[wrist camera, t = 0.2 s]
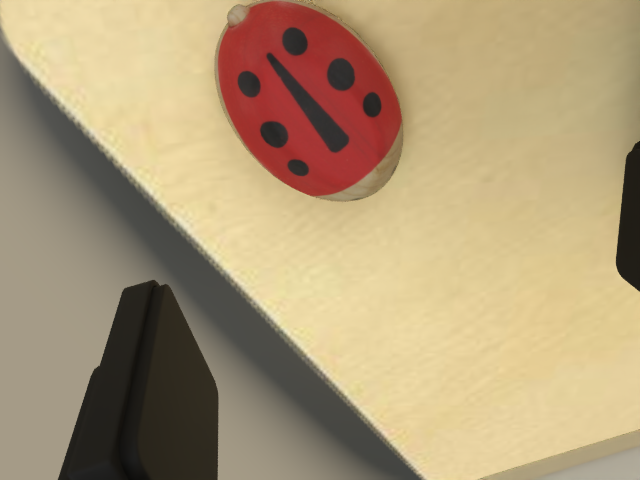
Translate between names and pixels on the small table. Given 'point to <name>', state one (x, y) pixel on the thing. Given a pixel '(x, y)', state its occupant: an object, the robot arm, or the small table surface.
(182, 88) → the small table surface
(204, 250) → the small table surface
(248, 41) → the ladybug figurine
